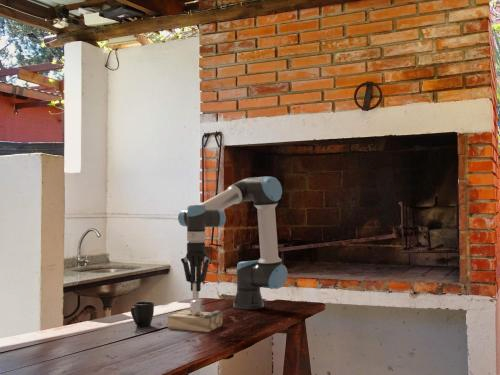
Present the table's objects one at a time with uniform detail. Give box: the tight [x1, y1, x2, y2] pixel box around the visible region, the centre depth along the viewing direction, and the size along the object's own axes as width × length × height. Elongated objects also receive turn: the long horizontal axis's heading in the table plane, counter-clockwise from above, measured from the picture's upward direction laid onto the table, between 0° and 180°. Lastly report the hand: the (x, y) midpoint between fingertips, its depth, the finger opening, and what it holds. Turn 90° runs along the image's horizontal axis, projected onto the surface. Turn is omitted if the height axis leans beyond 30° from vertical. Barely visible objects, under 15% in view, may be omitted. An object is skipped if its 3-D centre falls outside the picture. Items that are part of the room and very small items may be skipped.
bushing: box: [189, 299, 202, 316], centre depth 229 cm, size 4×4×9 cm
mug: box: [130, 301, 155, 328], centre depth 229 cm, size 8×12×10 cm
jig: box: [167, 309, 223, 333], centre depth 229 cm, size 14×18×6 cm
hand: (195, 299), depth 230 cm, fingers closed
